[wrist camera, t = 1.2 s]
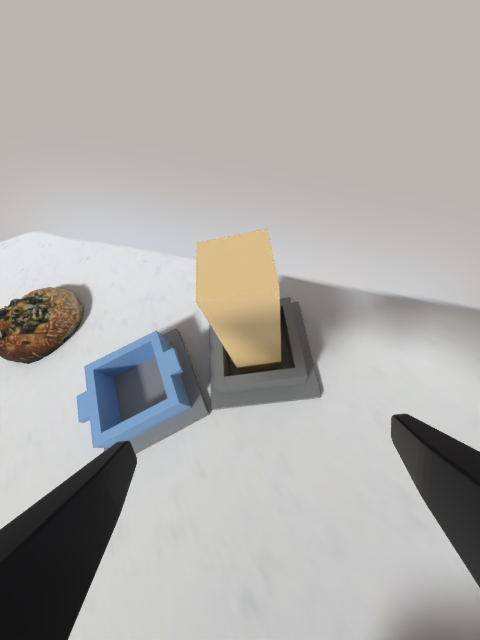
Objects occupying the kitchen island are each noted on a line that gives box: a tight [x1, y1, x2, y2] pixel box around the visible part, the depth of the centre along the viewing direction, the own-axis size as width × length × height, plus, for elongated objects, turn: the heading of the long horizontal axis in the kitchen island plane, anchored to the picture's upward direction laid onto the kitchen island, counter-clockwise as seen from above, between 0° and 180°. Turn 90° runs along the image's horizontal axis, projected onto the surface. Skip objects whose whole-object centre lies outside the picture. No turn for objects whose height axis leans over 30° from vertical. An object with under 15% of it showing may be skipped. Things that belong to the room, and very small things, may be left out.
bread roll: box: [0, 287, 84, 364], centre depth 29 cm, size 11×11×5 cm
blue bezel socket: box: [77, 329, 209, 454], centre depth 22 cm, size 10×10×4 cm
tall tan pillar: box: [196, 229, 281, 373], centre depth 17 cm, size 4×4×13 cm
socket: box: [210, 298, 321, 410], centre depth 22 cm, size 10×10×4 cm
